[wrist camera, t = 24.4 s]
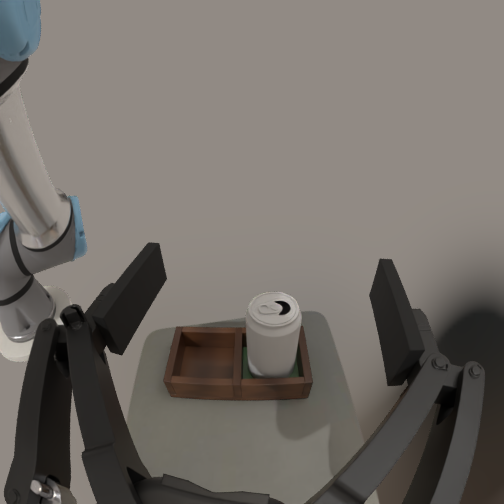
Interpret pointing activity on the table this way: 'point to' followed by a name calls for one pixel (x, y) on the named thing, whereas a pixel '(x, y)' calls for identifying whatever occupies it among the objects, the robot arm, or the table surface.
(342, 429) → the table surface
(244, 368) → the wooden compartment tray
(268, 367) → the beverage can
